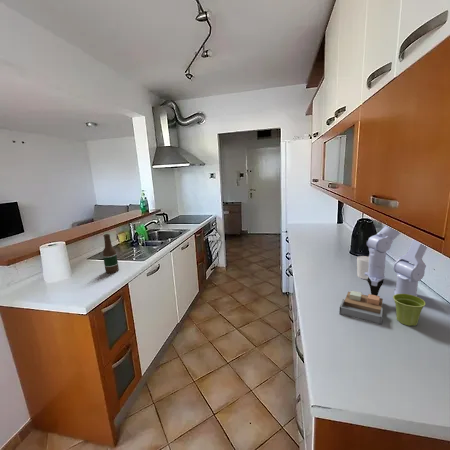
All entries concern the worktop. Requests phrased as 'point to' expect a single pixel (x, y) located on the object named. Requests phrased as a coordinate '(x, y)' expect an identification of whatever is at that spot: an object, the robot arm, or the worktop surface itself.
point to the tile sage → (355, 295)
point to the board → (363, 304)
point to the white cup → (362, 266)
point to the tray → (361, 313)
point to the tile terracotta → (373, 299)
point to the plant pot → (408, 308)
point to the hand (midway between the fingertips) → (374, 295)
